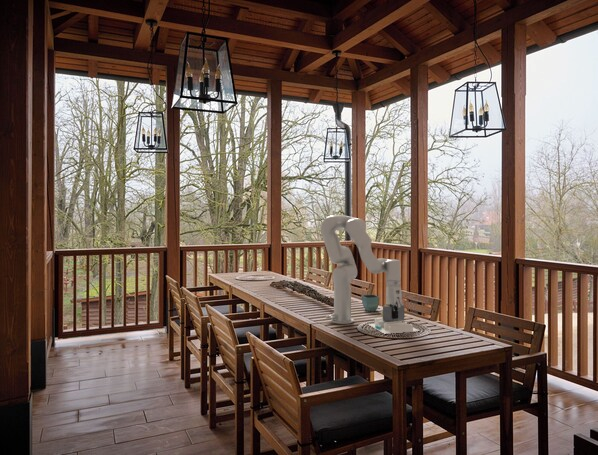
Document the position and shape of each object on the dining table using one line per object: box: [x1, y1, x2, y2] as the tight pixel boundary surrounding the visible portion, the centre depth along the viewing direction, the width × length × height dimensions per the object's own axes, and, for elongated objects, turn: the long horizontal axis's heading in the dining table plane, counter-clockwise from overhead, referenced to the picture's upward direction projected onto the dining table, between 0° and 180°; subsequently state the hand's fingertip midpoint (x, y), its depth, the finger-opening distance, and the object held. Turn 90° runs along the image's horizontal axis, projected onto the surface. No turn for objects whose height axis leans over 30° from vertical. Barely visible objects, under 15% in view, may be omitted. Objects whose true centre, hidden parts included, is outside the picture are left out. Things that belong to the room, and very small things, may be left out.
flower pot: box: [361, 294, 381, 312], centre depth 291 cm, size 9×9×9 cm
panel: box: [382, 304, 405, 322], centre depth 247 cm, size 11×3×8 cm, turn 106°
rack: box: [367, 317, 420, 334], centre depth 247 cm, size 20×20×4 cm
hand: (393, 317), depth 247 cm, fingers closed on panel, 3 cm apart
